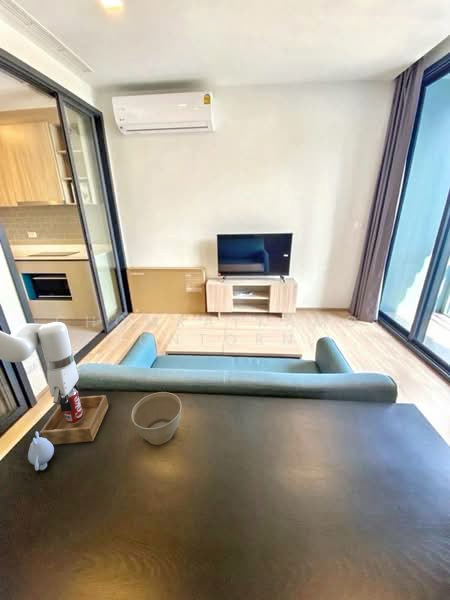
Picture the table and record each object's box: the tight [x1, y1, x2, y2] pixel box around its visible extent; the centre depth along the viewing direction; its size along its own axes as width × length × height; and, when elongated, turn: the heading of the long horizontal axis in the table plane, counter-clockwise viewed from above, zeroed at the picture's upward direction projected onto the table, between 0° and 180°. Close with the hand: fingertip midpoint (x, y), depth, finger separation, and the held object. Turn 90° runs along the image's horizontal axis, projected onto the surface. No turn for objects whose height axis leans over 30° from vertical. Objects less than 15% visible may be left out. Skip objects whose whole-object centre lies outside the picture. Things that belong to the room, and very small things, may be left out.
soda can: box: [61, 388, 83, 424], centre depth 87 cm, size 5×5×12 cm
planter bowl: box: [130, 391, 182, 446], centre depth 85 cm, size 16×16×11 cm
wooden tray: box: [39, 394, 109, 446], centre depth 90 cm, size 16×16×6 cm
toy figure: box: [27, 431, 55, 472], centre depth 74 cm, size 11×6×12 cm, turn 21°
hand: (71, 403), depth 87 cm, fingers closed on soda can, 5 cm apart
